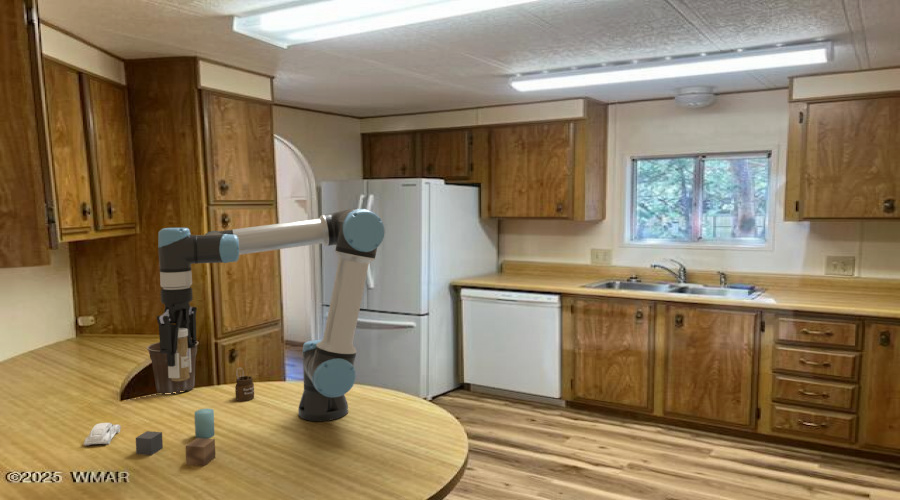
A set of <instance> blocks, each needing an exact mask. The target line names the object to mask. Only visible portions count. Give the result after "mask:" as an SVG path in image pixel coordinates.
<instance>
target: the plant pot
mask: <svg viewBox="0 0 900 500" xmlns="http://www.w3.org/2000/svg"><path fill="white" fill-rule="evenodd" d="M193 344H195V347H194V348H192V347H191V370H192V372H191V373H189V376H190V377H189V379H187V380H184V381H173V380H171V378H169V376H168V365H167V354H163V353H161V352H160V341H158V342H154V343H151V344H150V345H148V346H147V347H146V350H147V351H148V353H149V359H150V361H151V366H152V372H153V377H154V381H155V384H154V385H155V388H156V389H155V390H156V393H157V394H161V395H164V394H165V393H171V394H173V395H176V394H175V393H173V392H176V393H179V394H182V393H181V392H180V391H184V392H183V393H185V392H186V391H187V390H189V391H191V390H193V389H194V388H195V384H196V383H195V382H196V378H195V376H196V357H197V356H196V355H197V353H198V346H199V341H198V340H196V343H193ZM185 390H186V391H185Z"/></svg>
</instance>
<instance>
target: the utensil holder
mask: <svg viewBox="0 0 900 500" xmlns="http://www.w3.org/2000/svg"><path fill="white" fill-rule="evenodd" d="M252 367H253V361H251V360H249V361H248V363H247V369H246V370H247V371H248V373H247V375H241V374H240V376H239V374H238V373H239V372H238V370H239V371H240V370H241V371H242V373H244V370H243V368H242V367H239V368H238V370H236V373H235V374H236V375H237V378H236V380H235V382H236V384H235V386H234V387H235V388H234V390H235V400H237V402H238V401H239V402H247V401H251V400H252V399H254V397H255V385H254V382H253V377H252V375H251V376H250V372H251V371H252V370H253V368H252Z"/></svg>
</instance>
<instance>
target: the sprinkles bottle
mask: <svg viewBox="0 0 900 500" xmlns="http://www.w3.org/2000/svg"><path fill="white" fill-rule="evenodd" d="M187 337H188V329H187V328H179V329H178V340H177V350H176V353H179V372H180V378H171V380H173V381H184V380H187V379H189V377H190V376H189V358H188V343H187V342H188V341H187Z"/></svg>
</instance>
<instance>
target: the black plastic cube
mask: <svg viewBox="0 0 900 500" xmlns="http://www.w3.org/2000/svg"><path fill="white" fill-rule="evenodd" d="M163 445H164V444H163V432H161V431H152V430H151V431H149V430H146V431H145V432H143V433H141V434H140V435H138V436H136V437H135V452H136V455H141V456H142V455H144V456H145V455H146V456H153V455H154V454H156V453H158V452H159V451H161V450H162V449H164V448H163V447H164V446H163Z"/></svg>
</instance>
